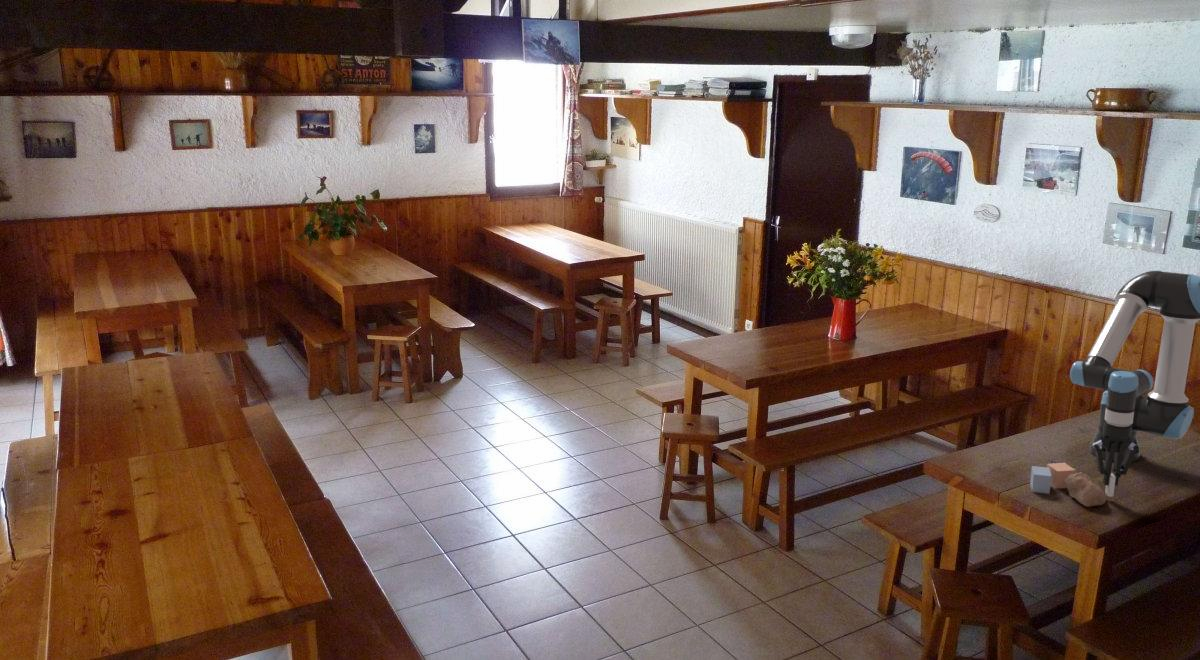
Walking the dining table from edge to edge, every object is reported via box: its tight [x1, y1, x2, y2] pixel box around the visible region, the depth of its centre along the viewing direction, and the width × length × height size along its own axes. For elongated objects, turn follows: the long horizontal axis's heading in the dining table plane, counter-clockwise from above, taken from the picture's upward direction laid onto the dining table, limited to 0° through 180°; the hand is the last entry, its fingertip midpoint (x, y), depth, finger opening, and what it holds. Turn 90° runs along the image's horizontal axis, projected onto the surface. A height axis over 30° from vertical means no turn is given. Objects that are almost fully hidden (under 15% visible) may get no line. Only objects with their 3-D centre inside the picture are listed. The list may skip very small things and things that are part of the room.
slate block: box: [1029, 465, 1051, 495], centre depth 294 cm, size 5×7×6 cm
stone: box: [1065, 471, 1107, 508], centre depth 285 cm, size 12×9×10 cm
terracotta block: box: [1046, 462, 1077, 489], centre depth 297 cm, size 6×6×6 cm
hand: (1109, 494), depth 285 cm, fingers closed
